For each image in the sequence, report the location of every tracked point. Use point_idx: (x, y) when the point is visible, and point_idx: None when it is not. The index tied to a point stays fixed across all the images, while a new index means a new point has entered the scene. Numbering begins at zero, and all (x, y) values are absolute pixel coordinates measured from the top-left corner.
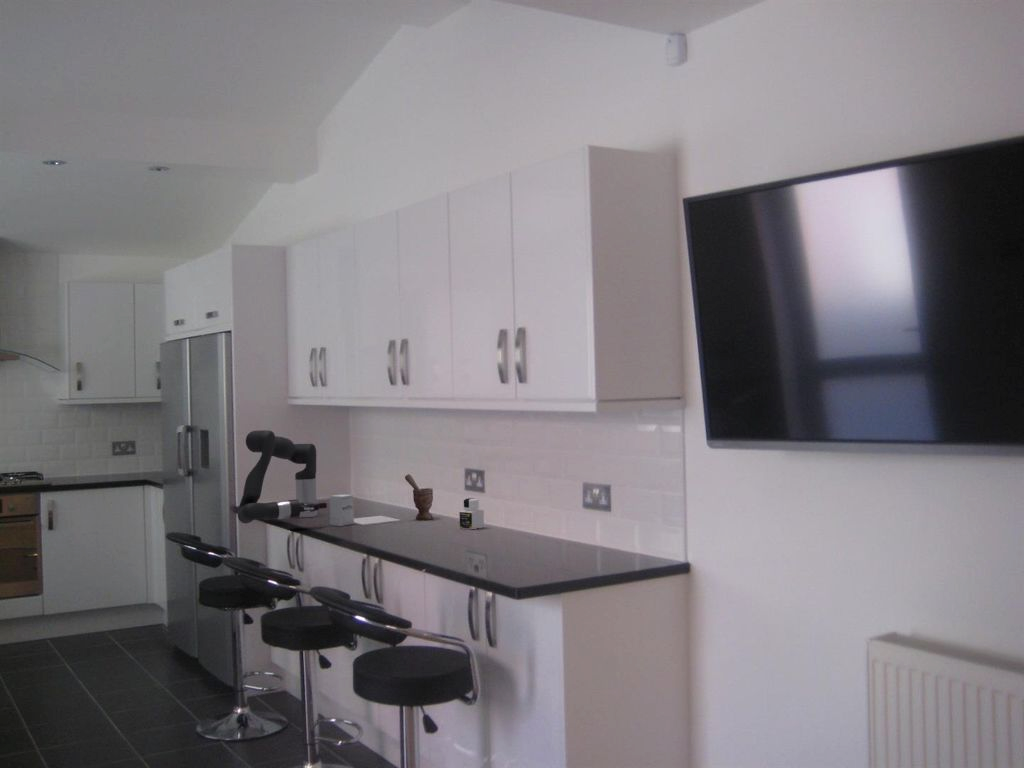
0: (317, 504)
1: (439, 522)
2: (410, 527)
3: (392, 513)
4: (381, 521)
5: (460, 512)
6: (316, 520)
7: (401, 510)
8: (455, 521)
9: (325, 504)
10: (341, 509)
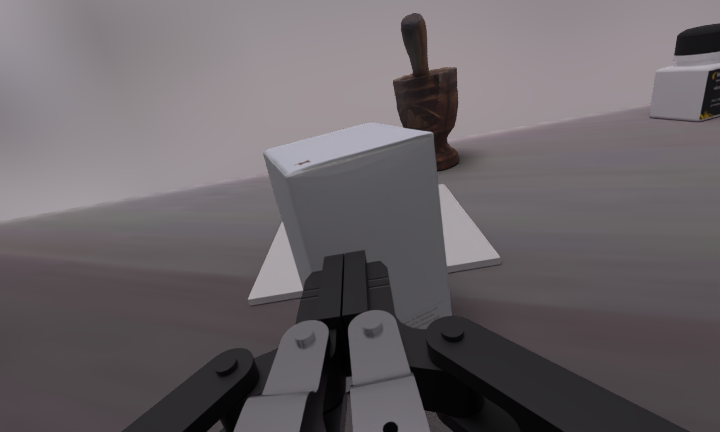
0: (500, 337)
1: (528, 147)
2: (637, 172)
3: (249, 200)
4: (442, 212)
5: (714, 70)
6: (31, 419)
7: (224, 191)
8: (525, 136)
9: (384, 268)
10: (443, 237)
